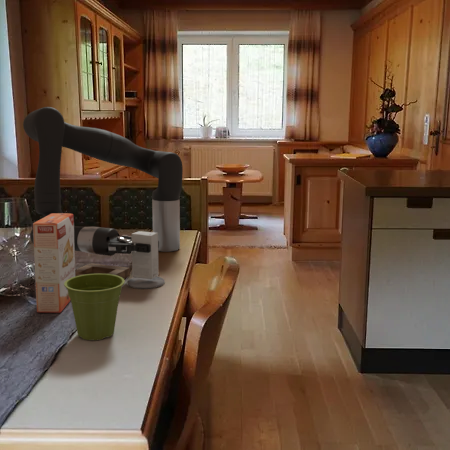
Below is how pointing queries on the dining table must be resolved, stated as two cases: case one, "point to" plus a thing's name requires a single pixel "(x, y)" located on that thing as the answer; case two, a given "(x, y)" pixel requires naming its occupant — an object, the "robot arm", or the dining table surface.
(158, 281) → the slate coaster
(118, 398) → the dining table surface
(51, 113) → the robot arm
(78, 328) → the plant pot
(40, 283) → the cracker box
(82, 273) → the pocket block
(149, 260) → the skincare box
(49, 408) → the dining table surface
